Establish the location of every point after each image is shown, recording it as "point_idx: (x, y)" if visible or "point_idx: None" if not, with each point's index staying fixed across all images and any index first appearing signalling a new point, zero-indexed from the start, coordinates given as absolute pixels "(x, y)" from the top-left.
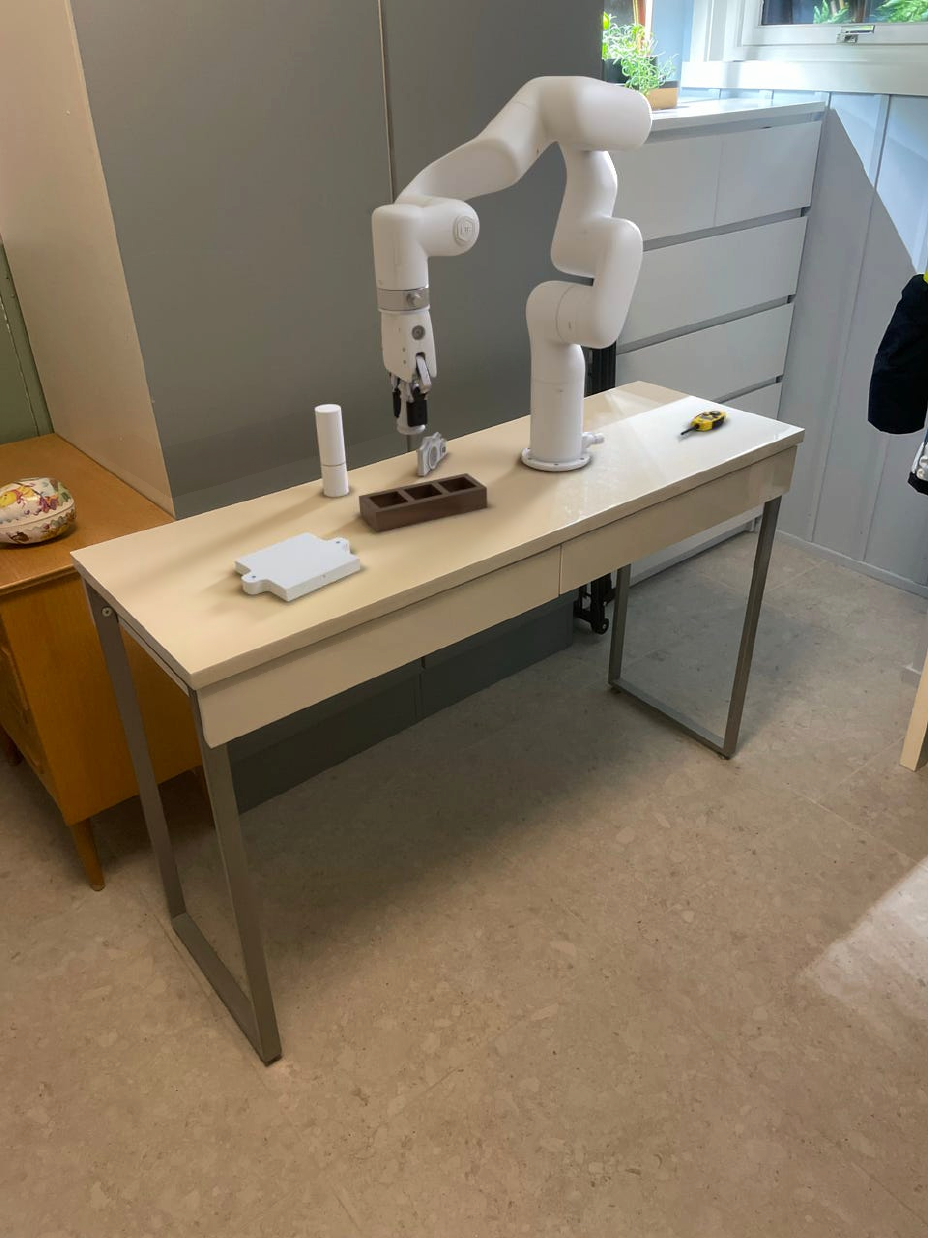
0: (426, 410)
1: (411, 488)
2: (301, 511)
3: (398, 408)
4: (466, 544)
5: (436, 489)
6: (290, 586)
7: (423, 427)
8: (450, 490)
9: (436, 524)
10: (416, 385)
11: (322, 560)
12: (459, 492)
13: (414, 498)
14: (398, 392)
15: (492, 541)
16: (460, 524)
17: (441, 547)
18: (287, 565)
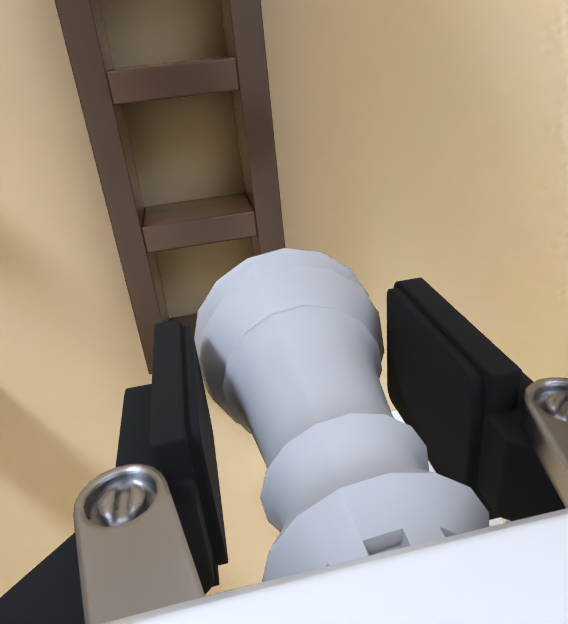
0: (462, 320)
1: (133, 192)
2: (69, 473)
3: (214, 456)
4: (468, 98)
5: (171, 97)
6: (497, 520)
7: (336, 270)
8: (96, 2)
9: (300, 140)
10: (471, 516)
11: (432, 468)
12: (249, 16)
13: (134, 173)
14: (210, 548)
15: (494, 5)
16: (334, 60)
17: (447, 176)
18: None
